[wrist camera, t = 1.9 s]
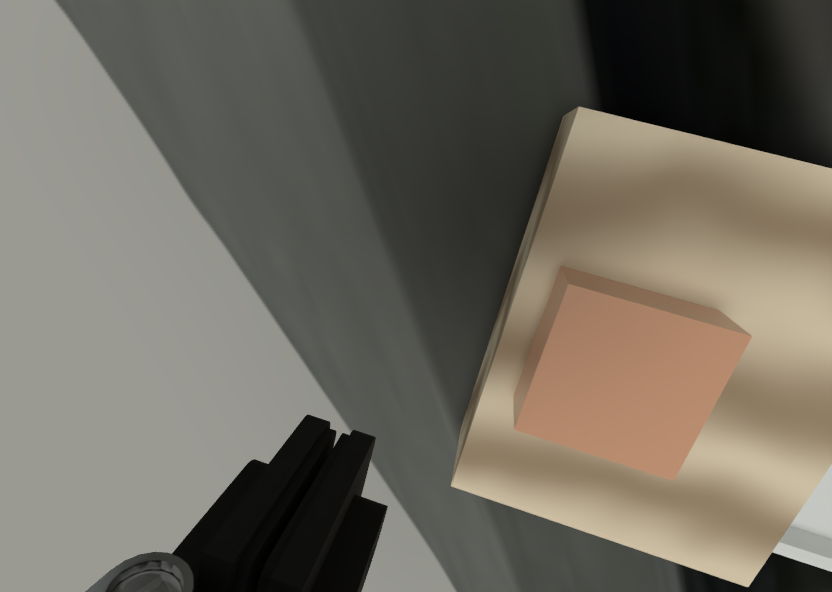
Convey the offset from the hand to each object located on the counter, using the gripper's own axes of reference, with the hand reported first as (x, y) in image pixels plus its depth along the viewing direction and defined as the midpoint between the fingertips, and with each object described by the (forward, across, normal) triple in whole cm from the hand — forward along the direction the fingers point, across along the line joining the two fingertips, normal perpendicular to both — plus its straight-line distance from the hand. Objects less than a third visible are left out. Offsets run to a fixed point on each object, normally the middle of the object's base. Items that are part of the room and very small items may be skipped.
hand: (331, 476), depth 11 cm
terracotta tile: (+13, -9, 0) cm, 16 cm away
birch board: (+19, -12, 0) cm, 22 cm away
